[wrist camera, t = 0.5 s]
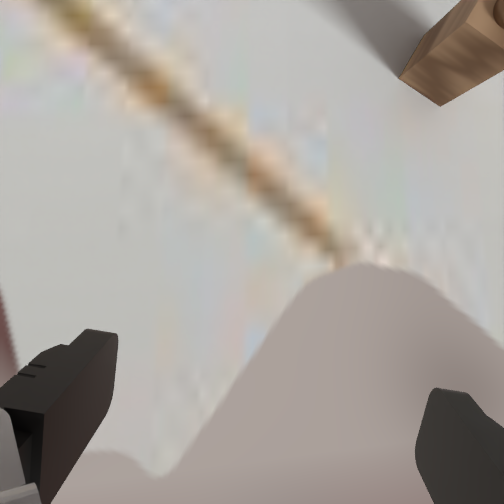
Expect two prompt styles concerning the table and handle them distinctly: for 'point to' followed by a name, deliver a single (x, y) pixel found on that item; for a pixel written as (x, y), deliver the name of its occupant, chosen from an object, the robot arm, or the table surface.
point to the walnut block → (458, 51)
